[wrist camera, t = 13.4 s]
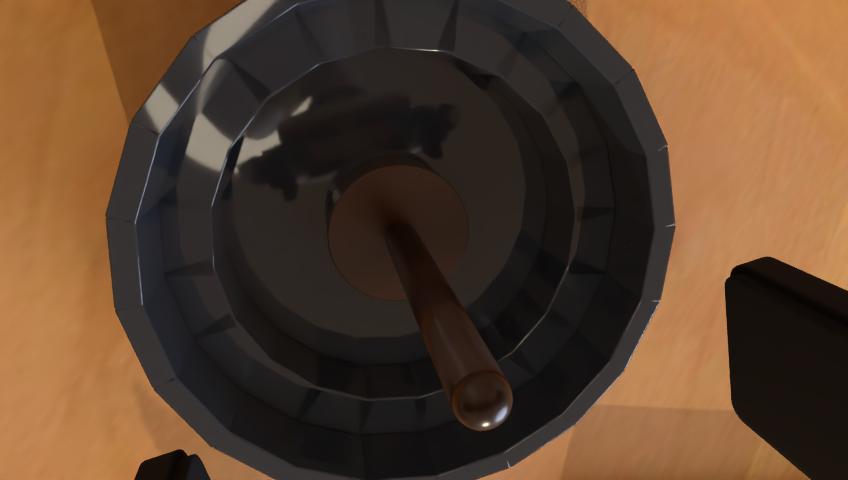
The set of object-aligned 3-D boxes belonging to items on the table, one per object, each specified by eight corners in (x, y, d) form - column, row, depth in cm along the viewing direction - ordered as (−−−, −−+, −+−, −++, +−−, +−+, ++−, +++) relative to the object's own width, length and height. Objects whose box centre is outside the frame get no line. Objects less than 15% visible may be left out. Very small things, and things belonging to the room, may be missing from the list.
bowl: (78, 50, 20) (-15, 48, 14) (555, -71, 21) (643, -116, 16) (253, 452, 26) (237, 563, 20) (615, 333, 27) (694, 404, 22)
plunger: (308, 176, 22) (306, 337, 9) (439, 139, 22) (603, 244, 10) (348, 297, 23) (390, 567, 11) (468, 260, 24) (637, 479, 12)
